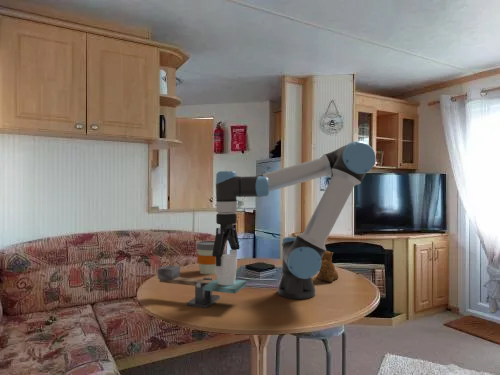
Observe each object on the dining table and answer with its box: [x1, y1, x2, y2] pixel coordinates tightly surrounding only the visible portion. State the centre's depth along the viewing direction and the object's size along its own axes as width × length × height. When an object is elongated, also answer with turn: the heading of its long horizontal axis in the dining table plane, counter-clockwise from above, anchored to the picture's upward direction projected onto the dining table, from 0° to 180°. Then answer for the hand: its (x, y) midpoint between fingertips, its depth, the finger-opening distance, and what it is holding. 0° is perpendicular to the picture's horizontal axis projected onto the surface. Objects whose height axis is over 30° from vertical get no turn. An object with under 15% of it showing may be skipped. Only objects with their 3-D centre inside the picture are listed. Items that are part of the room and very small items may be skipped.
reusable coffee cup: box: [196, 240, 216, 275], centre depth 181 cm, size 13×13×15 cm
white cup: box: [216, 253, 238, 286], centre depth 132 cm, size 8×8×10 cm
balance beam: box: [157, 264, 248, 294], centre depth 135 cm, size 33×12×6 cm, turn 71°
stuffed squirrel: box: [316, 250, 339, 283], centre depth 168 cm, size 10×14×13 cm
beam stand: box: [186, 276, 221, 309], centre depth 134 cm, size 8×12×8 cm, turn 161°
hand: (226, 270), depth 132 cm, fingers open, 13 cm apart
